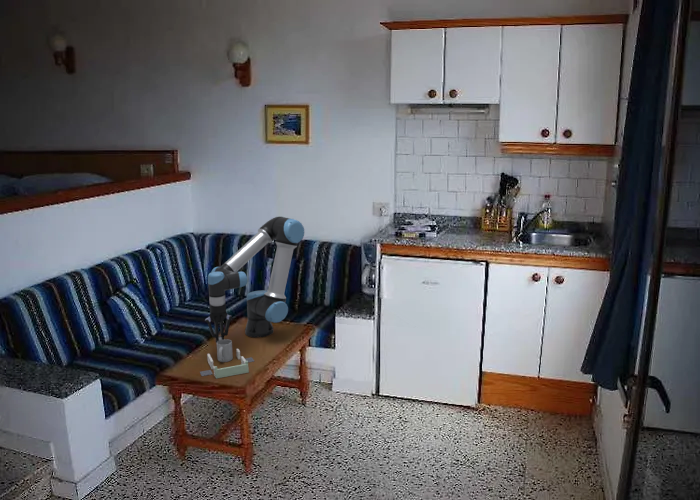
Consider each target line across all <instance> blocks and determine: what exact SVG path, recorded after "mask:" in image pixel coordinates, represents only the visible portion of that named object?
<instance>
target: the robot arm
mask: <svg viewBox="0 0 700 500" xmlns="http://www.w3.org/2000/svg"><path fill="white" fill-rule="evenodd" d="M304 237H305V227H304V224H303V223H302V222H301V221H299V220H297V219H294V218H289V217H284V216H275V217H272V218H270V219H269V220H268V221H266V222H265V223H264V224H262V225H261V226H260V227H259V228H258V229H257V233H256V234H254V235H253V236H252V237H251V238H250V239H249V240H248V241H246V243H244V245H242V247H240V248H239V249H238V250H237V251H236V252H234V254H232V256H231V257H230V258H228V259H227V261H225V262H224V263H223V264H222V265H221V266H216V267H213V269H212V270H211V272H209V274H208V276H207V285H208V298H209V316H208V317H206V318H205V319H204V322H206V324H207V326H208V328H209V332H210V334H211V337H212V338H215V343H216V344H217V341H219V340H223V339H225V337H226V336H228V333H229V329H230V323H231V321H232V319H233V317H232V315H231V314H228V313H227V306H226V291H229V290H234V289H235V290H236V289H238V288H242V287H245V286H247V284H248V277H247V274H246V273H245V272H244V271H239V270H241V268H242V267H244V266H245V265H246V264H247V263H248V262H249V261H250V260H252V258H254V256H255V255H256V254H257V253H259V252H260V251H261V250H262V249H263V248H264V247H265V246H267V244H271V243H272V242H273V241H274V243H275V244H276V251H275V257H274V260H273V264H272V265H273V266H272V268H271V274H270V278H269V282H268V283H269V284H268V288H267V290H265V289H264V290H261V289H260V290H255V291H251V292H248V293H247V294H246V308H247V309H246V310H247V311H246V313H247V321H246V325H245V329H244V333H245V335H246V336H247V337H250V338H255V339H257V338H265V337H269V336H271V335H273V334H274V326H273V324H272V323H275V324H276V323H281V322H282V321H283V320H285V318H286V317H287V315H288V312H289V307H288V304H287V303H286V302H287V297H286V295H285V291H286V286H287V282H288V278H289V271H290V269H291V264H292V263H291V262H292V258H293V255H294V254H293V253H294V250H295V249H296V248H297V247H298V244H299V243H300V242H301V241H302V240H303V239H304ZM225 320H226V321H225ZM224 321H225V322H226V323H225V326H224ZM211 322H213V323H214V330H213V326H212V323H211ZM219 328H220V329H219ZM219 331H220V335H219Z"/></svg>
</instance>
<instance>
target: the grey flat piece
mask: <svg viewBox="0 0 700 500" xmlns="http://www.w3.org/2000/svg"><path fill="white" fill-rule="evenodd" d="M235 350H236V351H235V352H236V358H237V359H238V360H240V362H241V363H240V364H236V365H233V366H227V367H226V366H225V367H222V368H221V367H219V368H218V366H216V365H214V360H213V358H212V356H211V354H210V353H207V355H206V357H207V362H208V365H209V367H210V369H208V370H203V371H199V373H200V375H201V376H200V377H206V376H211V375H212V376H214V377H215V379H221V378H226V377H232V376H235V375H242V374H247V373H248V374H249V371H250V368H249V363H252V362H253V363H254V362H255V359H254V358H253V357H251V356H250V357H247V358H245V357H244V356H243V355H242V356H241V351H240V349H239V348H236V349H235ZM212 370H213V372H212Z"/></svg>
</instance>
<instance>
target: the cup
mask: <svg viewBox="0 0 700 500" xmlns="http://www.w3.org/2000/svg"><path fill="white" fill-rule="evenodd" d="M216 355H217V361H218V362H220V363H228V362H231V361H232V360H233V358H234V356H233V341H232V339H227V338H226V339H225V338H224V339H223V340H219V341H217V343H216Z"/></svg>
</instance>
